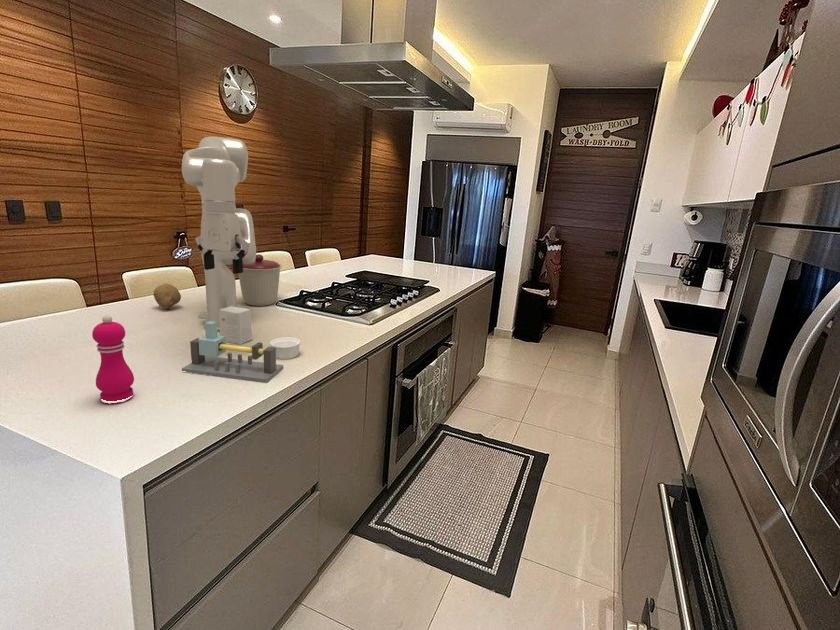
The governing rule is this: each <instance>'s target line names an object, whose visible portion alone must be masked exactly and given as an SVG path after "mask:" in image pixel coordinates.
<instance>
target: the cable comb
mask: <svg viewBox="0 0 840 630" xmlns="http://www.w3.org/2000/svg"><path fill="white" fill-rule="evenodd" d="M198 339H200V338H199V337H196V338H195V339H193V340H190V341H189V347H190V357H191V358H190V359H191V363H189V364H187V365H185V366H183V367H182V368H181V372H182V371H186V372H192V373H191V374H194V373H199V374H198V375H202V374H206V375H205V376H209V375H212V376H211V377H217V376H218V377H219V378H225V377H226V378H225V379H234V380H240V379H241V381H250V382H257V383H264V384H265V383H266V384H267V383H268V382H270V381H271V380H272V379H274V377H276V376H277V375H278V374H279V373H280V372H281V371H282V370H283V369H284V365H283V364H277V358H276V348H275V347H271V346H268V347H266V348H263V347H264V345H263V342H259V341H258V342H257V343H255V344H253V345H252V346H251V347H249V346H240V345H230V344H226V345H225V344H218V349H223V350H226V351H232V352H241V353H238V354H237V358H233V353H232V352H228V353H227V357H219V356H218V357H213V356H205V355H199V341H198ZM242 352H243V353H250V355H247V360H245V359H244V360H243V354H242ZM261 357H263V362H259V361H257V360H258V359H260V358H261ZM253 360H254V361H253ZM186 372H185V373H186ZM218 377H217V378H218Z"/></svg>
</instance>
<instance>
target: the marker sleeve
mask: <svg viewBox="0 0 840 630" xmlns="http://www.w3.org/2000/svg"><path fill="white" fill-rule="evenodd" d="M205 327H206V328H205V336H203V337H201V338H200V339H198V341H199V355H205V356H213V357H219V356H221V355H222V354H224V353H225V352H227V350H223V349H218V344H225V345H227V344H226V341H225V336H221V335H218V331H217V322H213V321H209V322H207V323H205Z"/></svg>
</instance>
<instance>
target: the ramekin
mask: <svg viewBox="0 0 840 630" xmlns="http://www.w3.org/2000/svg"><path fill="white" fill-rule="evenodd" d="M300 345H301V340H300V339H299V338H296V337H292V336H291V337H290V336H286V337H277V338H273V339H271V340H270V341H269V347H275V348H276V360H277V359H278V360H290V359H293V358H294V359H295V358H296V357H297V356H299V354H300Z"/></svg>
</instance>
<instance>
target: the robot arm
mask: <svg viewBox="0 0 840 630" xmlns="http://www.w3.org/2000/svg"><path fill="white" fill-rule="evenodd" d="M181 162H182V163H181V173H182V176H183V177H182V178H183V180H184V181H185V183H186V184H188V185H189V186H193V187H196V188H197V190H198V192H199V195H200V199H201V209H202V210H201V211H202V214H201V220H200V235H198V236H196V237H195V238H194V240H195V243H196V244H197V248H198V249H199V251H200V254H201V259H202V263H203V270H204V280H205V296H206V311H207V312H205V311H199V313H198V316H197V318H198V319H202V320H204V322H203V323H202V325H203V328H204V329H206V327H205V323H207V322H209V321H213V322H217V332H219V331H220V320H219V310H220V309H223V308H227V307H230V306H233V307H237V306H238V305H237V286H236V277H235V275H239V274H238V273H242V272H243V264H251V263H253V262H254V261H255V259H256V255H257V245H256V237H255V229H254V228H255V227H254V220H253V216H252V214H251V212H250V211H249V210H247V209H245V208H238V207H236V192H235V191H236V189H235V188H236V186H238V184H239V183H241V182H244V181H246V178H247V171H248V165H249V151H248V148H247V146H246V143H245V142H243V141H242V139H239V138H238V139H237V138H231V137H222V136H214V135H213V136H212V135H211V136H206V137H204V138H202V139H201V140H200V142H199V143H198V147H196V148H191V149H189V150H186V151H185V153H184V154H183V156H182V160H181ZM230 265H232V270H231V269H230V268H229V267H228V266H230Z"/></svg>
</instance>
